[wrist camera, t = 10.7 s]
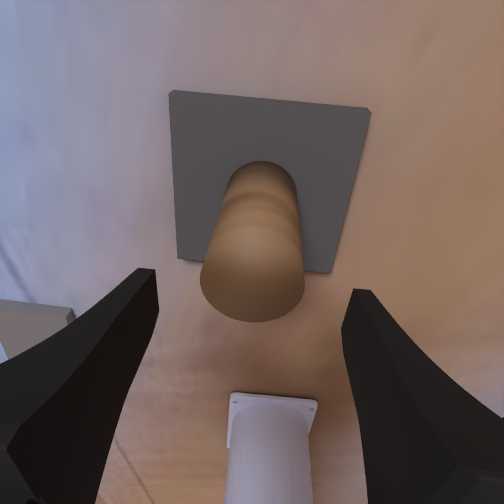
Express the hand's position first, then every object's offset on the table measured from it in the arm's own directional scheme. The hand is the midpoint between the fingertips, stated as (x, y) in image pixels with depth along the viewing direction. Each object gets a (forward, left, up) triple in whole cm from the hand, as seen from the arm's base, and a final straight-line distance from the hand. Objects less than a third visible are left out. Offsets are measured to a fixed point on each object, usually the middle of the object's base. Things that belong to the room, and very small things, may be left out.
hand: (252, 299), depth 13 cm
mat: (0, 0, -10) cm, 10 cm away
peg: (0, 0, -9) cm, 9 cm away
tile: (-11, +17, -10) cm, 23 cm away
